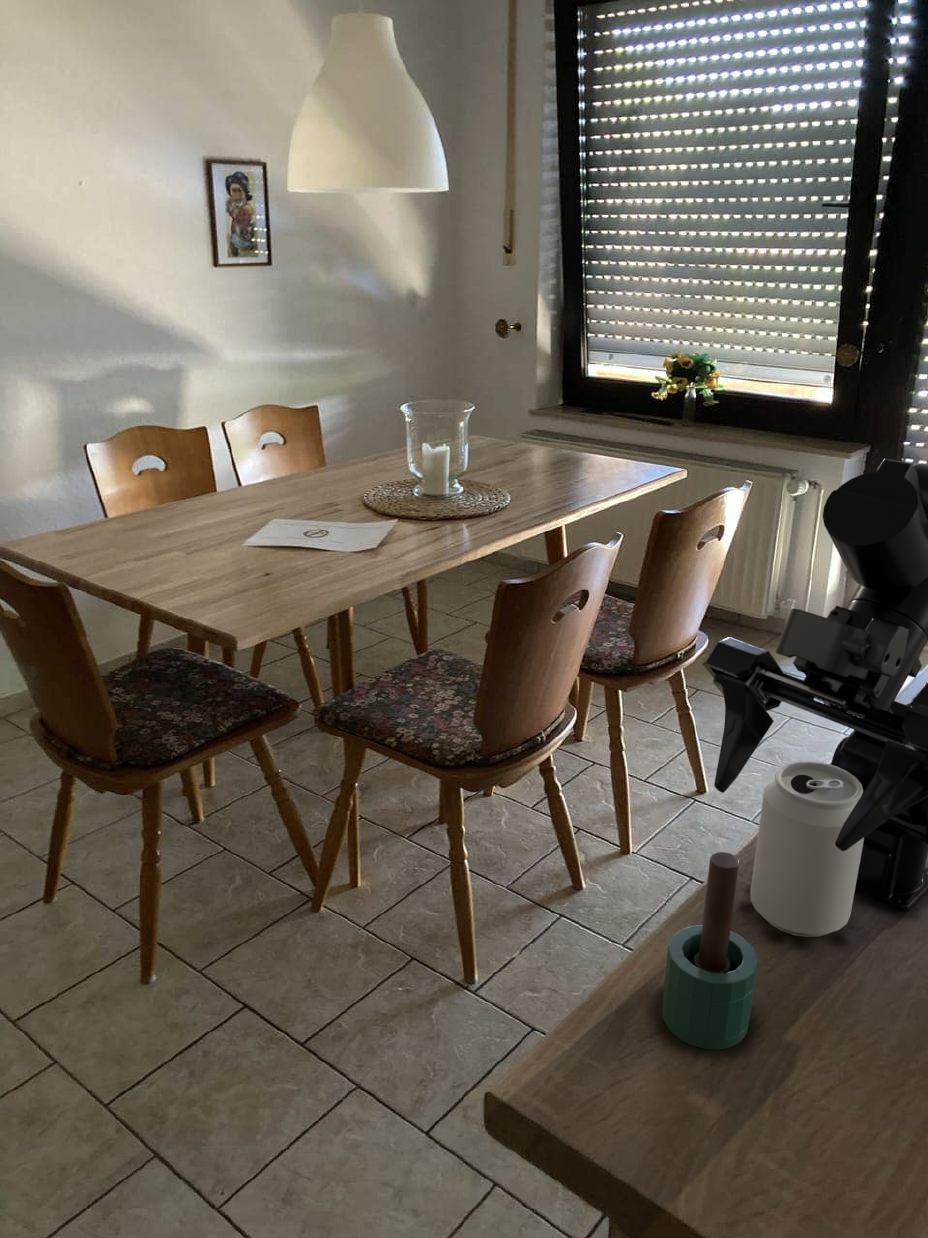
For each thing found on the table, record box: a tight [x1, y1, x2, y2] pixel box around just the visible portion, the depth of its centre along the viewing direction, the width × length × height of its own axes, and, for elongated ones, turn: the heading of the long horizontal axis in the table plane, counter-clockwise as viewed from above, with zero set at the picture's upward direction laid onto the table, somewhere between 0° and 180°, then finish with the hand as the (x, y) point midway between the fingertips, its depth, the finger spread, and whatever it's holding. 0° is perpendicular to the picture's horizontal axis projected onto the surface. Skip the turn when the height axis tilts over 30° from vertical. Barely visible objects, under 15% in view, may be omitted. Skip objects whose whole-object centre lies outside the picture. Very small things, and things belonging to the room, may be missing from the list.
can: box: [749, 760, 864, 938], centre depth 78 cm, size 8×8×12 cm
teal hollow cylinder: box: [661, 924, 759, 1051], centre depth 69 cm, size 6×6×6 cm
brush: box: [693, 851, 740, 973], centre depth 67 cm, size 2×2×12 cm
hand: (775, 817), depth 68 cm, fingers open, 9 cm apart
